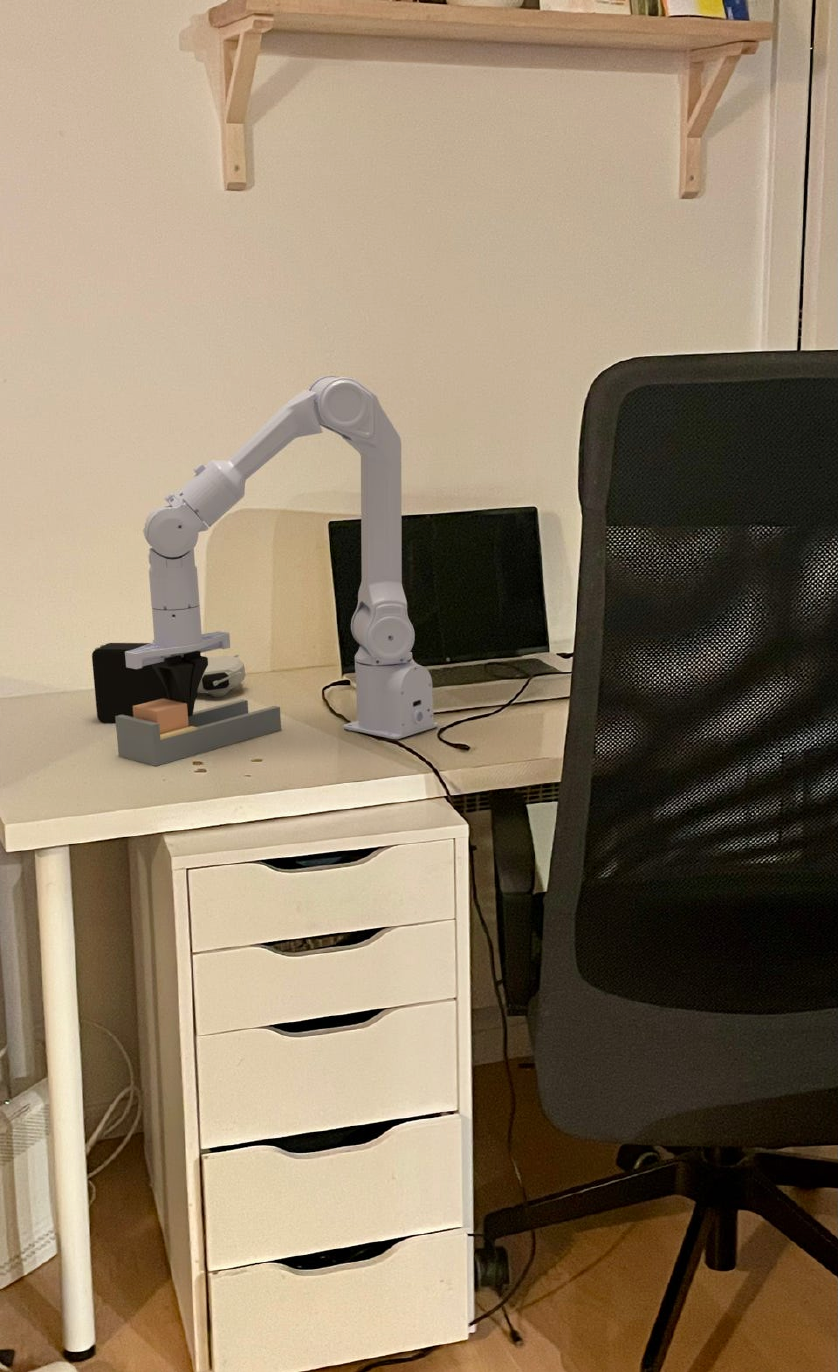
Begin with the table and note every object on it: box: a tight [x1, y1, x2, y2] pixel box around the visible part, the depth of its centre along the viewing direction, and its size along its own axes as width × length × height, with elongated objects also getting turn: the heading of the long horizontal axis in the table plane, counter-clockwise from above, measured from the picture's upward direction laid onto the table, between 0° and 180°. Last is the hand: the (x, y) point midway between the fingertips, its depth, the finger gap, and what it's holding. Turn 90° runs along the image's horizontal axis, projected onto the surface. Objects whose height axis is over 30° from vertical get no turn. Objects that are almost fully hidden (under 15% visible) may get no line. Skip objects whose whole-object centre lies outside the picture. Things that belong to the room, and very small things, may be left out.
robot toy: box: [197, 654, 246, 698], centre depth 214 cm, size 12×4×15 cm
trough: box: [115, 699, 282, 767], centre depth 187 cm, size 20×7×5 cm, turn 138°
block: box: [133, 699, 189, 735], centre depth 183 cm, size 5×5×5 cm
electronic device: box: [91, 642, 170, 725], centre depth 199 cm, size 4×10×10 cm, turn 78°
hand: (183, 715), depth 185 cm, fingers closed
